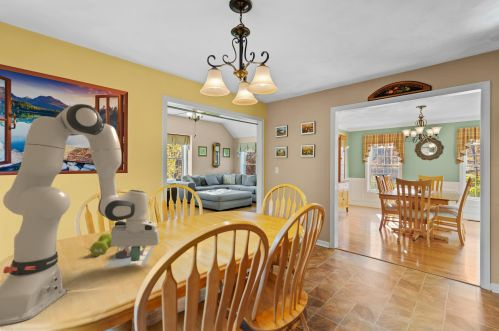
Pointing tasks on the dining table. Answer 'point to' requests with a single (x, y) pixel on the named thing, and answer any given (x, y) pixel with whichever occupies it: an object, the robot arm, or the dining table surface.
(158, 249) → the dining table surface
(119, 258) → the game board
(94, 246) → the dumbbell
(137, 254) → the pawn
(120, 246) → the dome
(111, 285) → the dining table surface
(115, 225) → the medicine bottle
